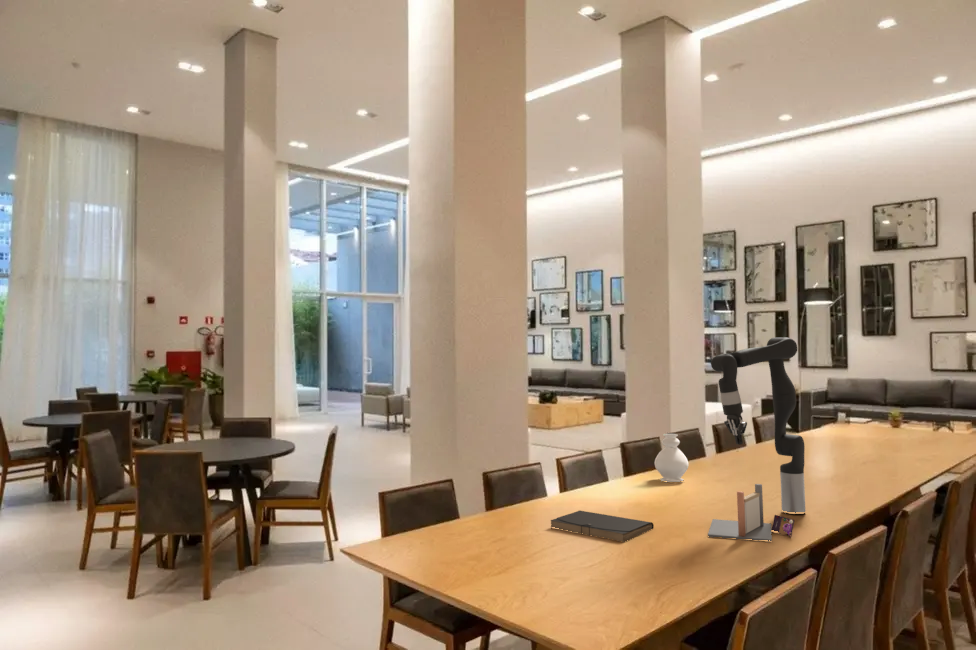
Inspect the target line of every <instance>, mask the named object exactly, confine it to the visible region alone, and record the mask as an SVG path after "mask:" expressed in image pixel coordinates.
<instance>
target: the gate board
mask: <svg viewBox="0 0 976 650" xmlns="http://www.w3.org/2000/svg"><path fill="white" fill-rule="evenodd" d="M754 492H756V493H760V496H759V506H760V526H759V527H757V528H755V529H753V530H752V531H750V532H748V533H745V510H744V497H745V493H744V491H739V490H738V491H736V499H737V501H736V502H737V503H736V505H737V507H736V508H737V520H732V519H731V520H728V519H717V518H716V519H715V518H713V519H712V520H711V524H710V526H709V530H708V532H707V537H708V536H709V537H708V538H714V537H722V538H721V539H725V538H736V539H735V540H737V539H752V540H768V541H769V540H770V541H772V542H773V540H772V538H773V537H772V535H771V534H772V532H771V530H772V523H769V522H764V505H763V504H764V500H763V484H762V483H756V484H755V483H754Z"/></svg>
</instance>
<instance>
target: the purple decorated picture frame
mask: <svg viewBox="0 0 976 650" xmlns="http://www.w3.org/2000/svg"><path fill="white" fill-rule="evenodd" d="M782 520H783V522H786V523H784V524H783V527H781V525H782ZM794 524H795V519H793V518H788V517H785V516H781V515H778V514H777V515H776V514H774V517H773V521H772V524H771V530H774V531H778V532H779V533H780V530H781V528H782V529H783V532H784V533H786V535H787V534H788V536H790V535H791V536H792V534H793V529H794Z"/></svg>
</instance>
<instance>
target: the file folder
mask: <svg viewBox="0 0 976 650" xmlns="http://www.w3.org/2000/svg"><path fill="white" fill-rule="evenodd" d="M550 525H551V526H550V527H555V528H559V529H563V530H568V531H572V532H578V533H581V534H582V533H583V534H582V535H584V534H587V535H586V536H588V537H594V536H597V537H596V538H601V537H604V538H603V539H606V538H609V539H608V540H611V539H613V540H612V541H615V540H617V541H616V542H620V541H622V542H621V543H626V542H628V541H630V539H631V540H632V538H633V539H634V537H635V538H636V537H639V536H641V535H643V534H645V533H647V531H648V532H650V531H651V529H652V530H654V522H651V521H645V520H640V519H639V520H638V519H632V518H627V517H622V516H621V517H620V516H617V515H616V516H615V515H609V514H604V513H603V514H602V513H597V512H592V511H591V512H590V511H585V510H578V511H575V512H572V513H568V514H565V515H561V516H559V517H556V518H554V519H550ZM649 530H650V531H649ZM572 532H571V533H572ZM644 532H645V533H644ZM578 533H577V534H578ZM642 533H643V534H642ZM581 534H580V535H581ZM590 535H592V536H590ZM627 540H628V541H627ZM625 541H626V542H625Z"/></svg>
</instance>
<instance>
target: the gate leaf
mask: <svg viewBox="0 0 976 650" xmlns="http://www.w3.org/2000/svg"><path fill="white" fill-rule="evenodd" d="M759 496H760V493H756V492H755V491H754V492H752V493H750V494H748V495H744V510H745V533H748V532H750V531H752V530H753V529H755V528H757V527H759V526H760V506H759Z"/></svg>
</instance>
